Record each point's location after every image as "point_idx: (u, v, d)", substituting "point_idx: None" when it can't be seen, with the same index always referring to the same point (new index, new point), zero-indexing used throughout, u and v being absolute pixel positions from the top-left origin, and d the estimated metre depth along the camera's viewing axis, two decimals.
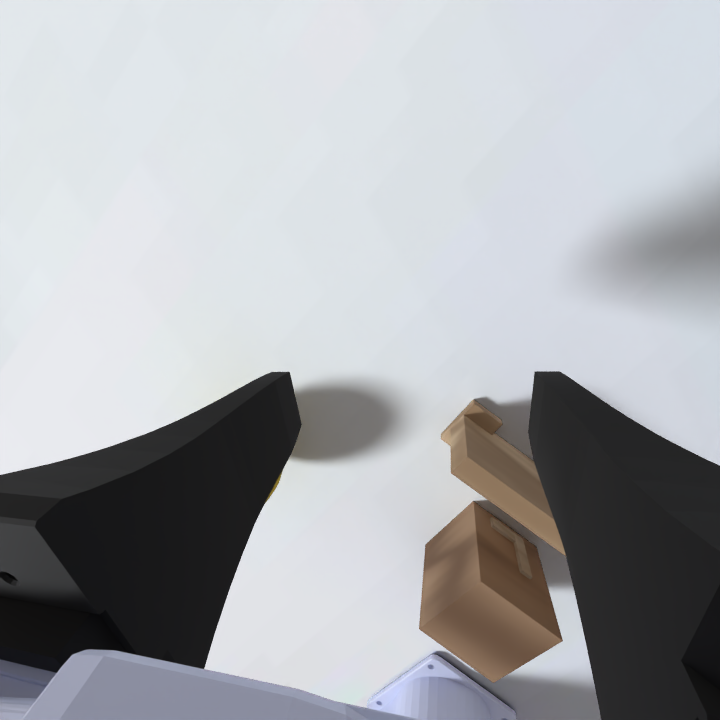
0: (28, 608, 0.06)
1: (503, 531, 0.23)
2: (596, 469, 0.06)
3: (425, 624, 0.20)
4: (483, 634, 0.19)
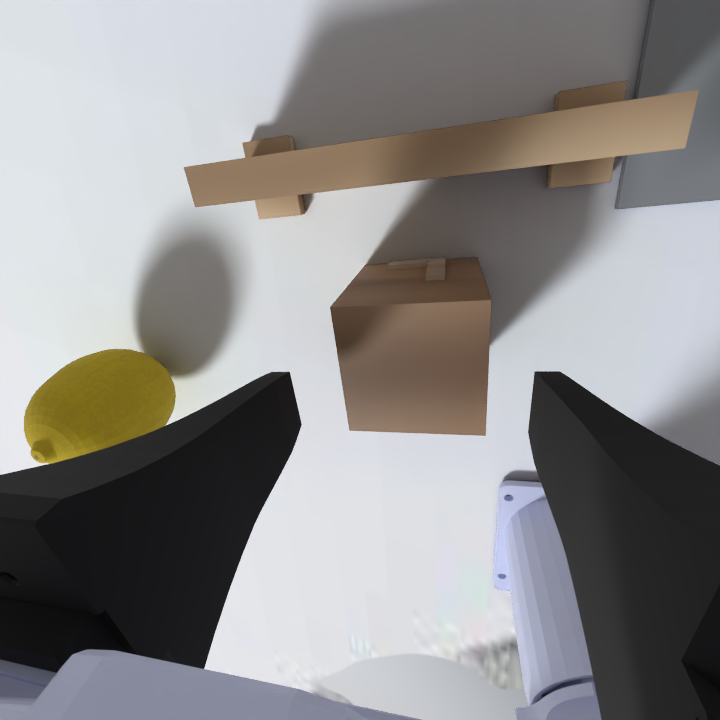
0: (28, 608, 0.06)
1: (407, 263, 0.16)
2: (596, 469, 0.06)
3: (348, 419, 0.14)
4: (407, 378, 0.13)
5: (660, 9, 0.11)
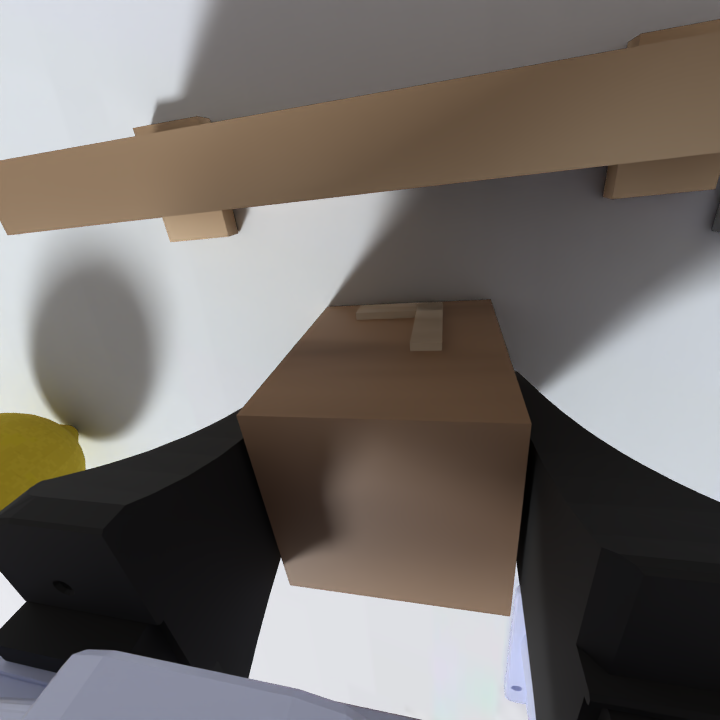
0: (81, 618, 0.05)
1: (385, 311, 0.10)
2: (531, 465, 0.07)
3: (286, 570, 0.09)
4: (378, 528, 0.07)
5: None
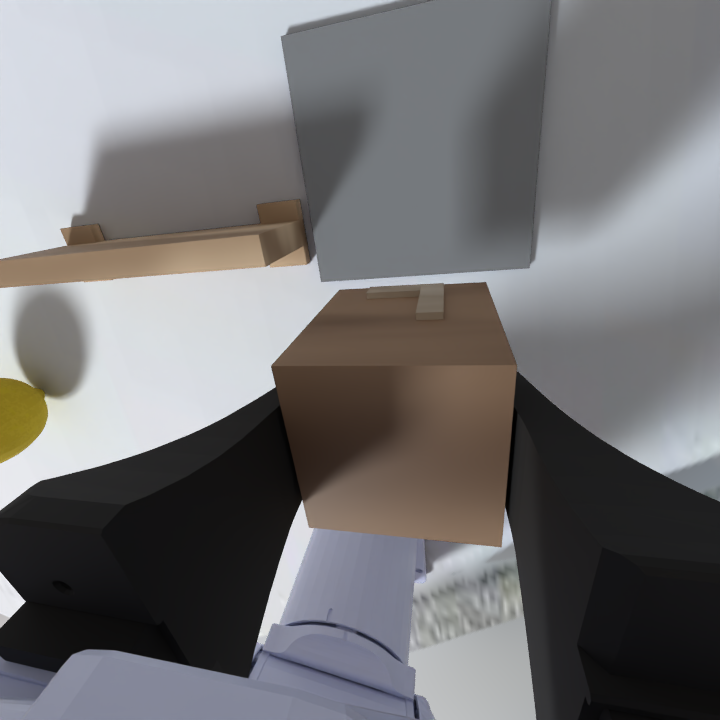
0: (81, 618, 0.05)
1: (392, 291, 0.12)
2: (531, 466, 0.07)
3: (306, 513, 0.10)
4: (388, 467, 0.09)
5: (304, 156, 0.17)
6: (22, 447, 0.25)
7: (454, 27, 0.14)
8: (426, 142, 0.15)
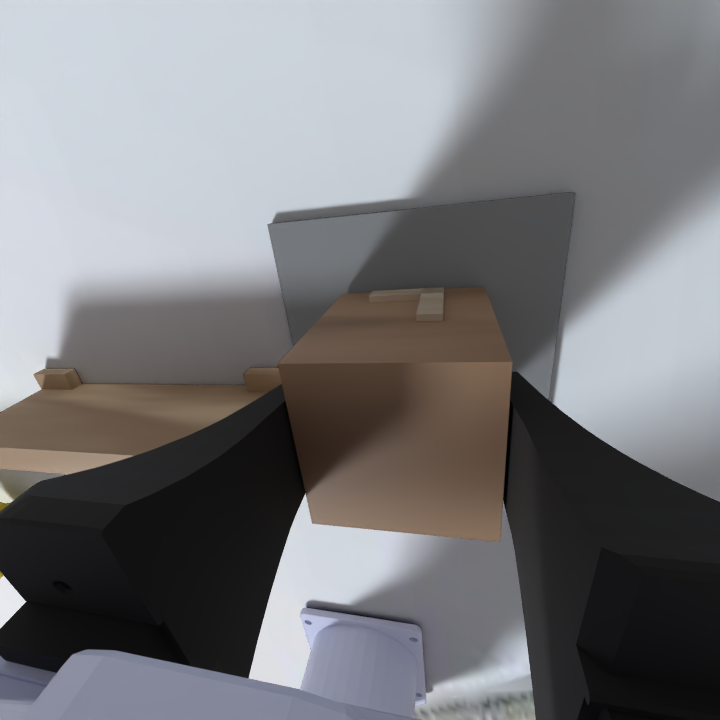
0: (81, 618, 0.05)
1: (394, 295, 0.12)
2: (531, 465, 0.07)
3: (310, 509, 0.10)
4: (389, 462, 0.09)
5: (294, 333, 0.15)
6: None
7: (461, 234, 0.12)
8: None
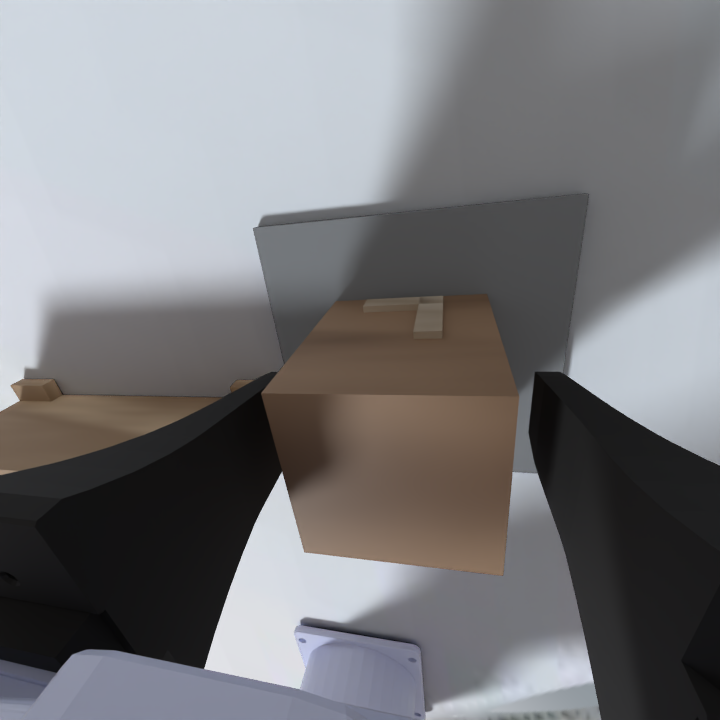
0: (28, 608, 0.06)
1: (390, 305, 0.11)
2: (596, 469, 0.06)
3: (301, 538, 0.10)
4: (384, 495, 0.08)
5: (284, 345, 0.14)
6: None
7: (463, 239, 0.11)
8: None
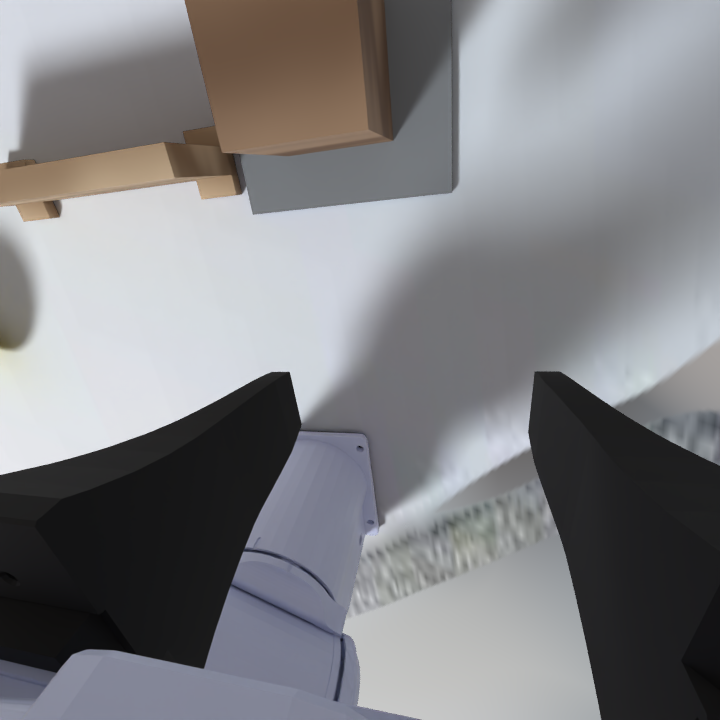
0: (28, 608, 0.06)
1: None
2: (596, 469, 0.06)
3: (218, 134, 0.12)
4: (272, 50, 0.11)
5: None
6: None
7: None
8: None
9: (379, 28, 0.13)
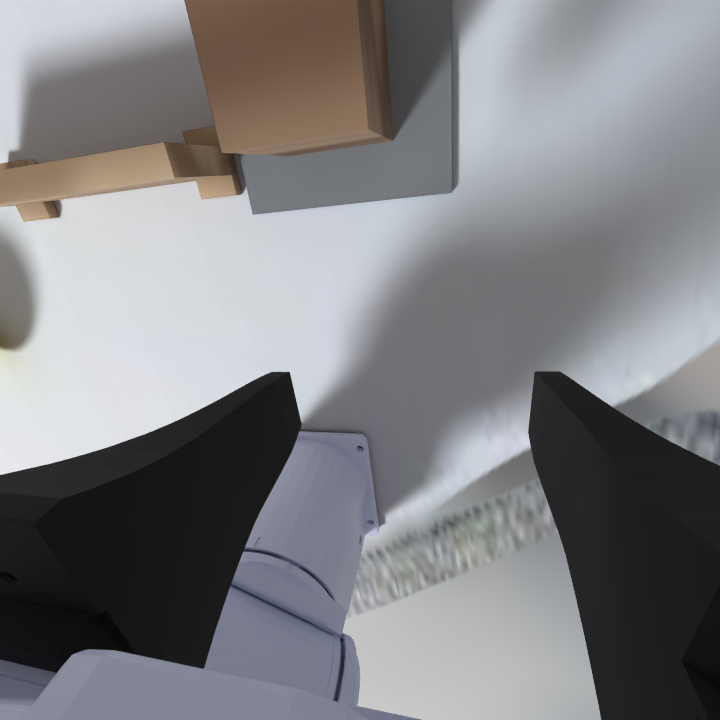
0: (28, 608, 0.06)
1: None
2: (596, 469, 0.06)
3: (218, 134, 0.12)
4: (271, 50, 0.11)
5: None
6: None
7: None
8: None
9: (379, 28, 0.13)
